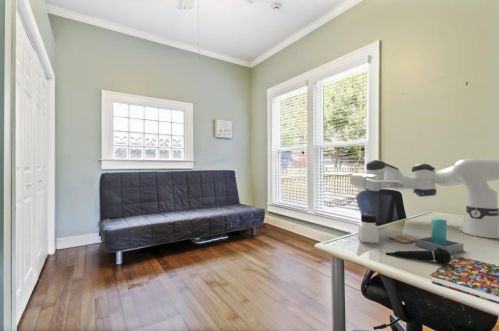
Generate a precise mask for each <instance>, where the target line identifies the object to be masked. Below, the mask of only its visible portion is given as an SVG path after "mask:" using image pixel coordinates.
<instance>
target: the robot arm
mask: <svg viewBox="0 0 499 331" xmlns="http://www.w3.org/2000/svg"><path fill="white" fill-rule="evenodd" d="M365 168H366V172H364V173H363V172H356V173H355V172H354V173H352V174H351V176H350V179H349V182H350V185H352V186H353V187H356V188H359V189H364V191H367V192H368V191H369V192H379V191H381V190H382V189H391V190H393V191H399V192H401V191H402V192H403V191H408V190H409V191H410V190H413V191H412V194H415V195H416V196H418V197H419V198H425V199H429V198H432V197H435V196H436V195H437V190H438V189H437V188H436V187H437V186H436V185H439V186H440V187H451V186H452V187H453V186H458V185H464V186H465V190H466V198H467V202H466V203H467V204H466V206H465V212H466V213H465V214H464V215H463V216H462V223H461V224H462V225H461V227H459V228H458V231H460V232H463V234H464V233H465V234H467V235H470V236H476V237H481V238H488V239H499V208H498V194H497V191H496V190H494V189H493V188H491V187H490V186H489V184H488V182H491V181H493V182H494V181H499V159H497V158H465V159H460V160H456V161H455V163H454V164H453V165H452V166H448V167H445V168H443V169H439V170H436V167H434V166H432V165H431V164H428V163H417V164H415V165H413V166H412V167H411V173H412V176H411V175H408V174H405V173H402V172H401V171H400V169H399V167H396V166H394V165H391V164H389V163H386V162H385V161H383V160H381V159H370V160H368V162H367V163H366V167H365Z"/></svg>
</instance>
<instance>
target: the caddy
mask: <svg viewBox="0 0 499 331" xmlns="http://www.w3.org/2000/svg"><path fill="white" fill-rule="evenodd" d="M418 238H419V237H418ZM414 243H415V246H416V247H420V248H422V249H425V250H426V249H427V250H428V251H434V250H435V249H437V248H441V249H445V250H447V251H448V252H449V253H450V255H451V254H452V255H453V254H455V253H460V252H463V251H464V243H461V242H457V241H454V240H453V241H452V240H449V239H446V247H445V246H441V245H438V244H434V243H431V236H427V237H420V238H419V239H416V240H415V242H414Z"/></svg>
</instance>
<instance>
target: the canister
mask: <svg viewBox="0 0 499 331" xmlns="http://www.w3.org/2000/svg"><path fill="white" fill-rule="evenodd" d="M447 226H448V225H447V220H446V219H443V218H435V217H433V218H431V233H430V234H431V243H434V244H438V245H441V246H445V247H446V240H447Z"/></svg>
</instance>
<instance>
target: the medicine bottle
mask: <svg viewBox="0 0 499 331" xmlns="http://www.w3.org/2000/svg"><path fill="white" fill-rule="evenodd" d="M360 220H361V221H360V222H358V226H357V229H358V233H357V235H358V237H357V238H358V239H359V240H360V241H361V243H368V242H369V244H370V243H371V244H379V243H380V242H379V241H380V227H379V226H378V225H377V221H376V220H377V217H376V215H374V214H371V213H362V214H361V216H360Z"/></svg>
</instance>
